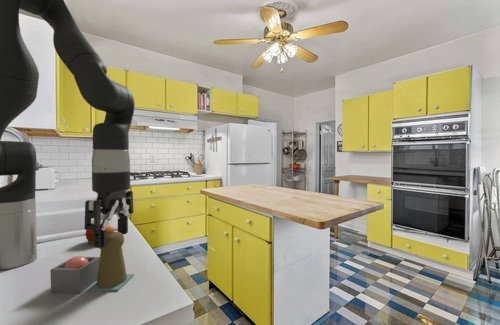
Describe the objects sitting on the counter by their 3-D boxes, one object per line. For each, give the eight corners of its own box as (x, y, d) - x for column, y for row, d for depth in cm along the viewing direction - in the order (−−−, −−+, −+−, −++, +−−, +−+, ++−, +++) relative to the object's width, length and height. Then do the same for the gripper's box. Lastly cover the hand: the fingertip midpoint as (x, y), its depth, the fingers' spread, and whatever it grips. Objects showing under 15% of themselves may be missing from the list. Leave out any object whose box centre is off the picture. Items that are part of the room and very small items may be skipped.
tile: (88, 290, 51) (88, 288, 51) (107, 275, 57) (107, 273, 57) (117, 291, 50) (117, 289, 50) (133, 275, 57) (133, 274, 57)
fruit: (74, 240, 77) (88, 217, 81) (97, 246, 83) (109, 224, 86) (85, 245, 73) (99, 220, 76) (108, 251, 78) (120, 227, 82)
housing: (51, 292, 50) (50, 269, 50) (74, 277, 56) (74, 256, 56) (80, 293, 50) (79, 269, 50) (100, 277, 56) (100, 256, 56)
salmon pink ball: (58, 285, 51) (57, 261, 51) (75, 274, 55) (74, 252, 55) (79, 285, 51) (78, 261, 50) (94, 275, 55) (93, 252, 55)
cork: (132, 275, 56) (131, 229, 56) (113, 289, 50) (112, 238, 50) (111, 273, 57) (110, 228, 57) (89, 286, 51) (88, 236, 51)
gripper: (108, 172, 46) (109, 253, 47) (142, 168, 60) (143, 230, 61) (70, 172, 46) (72, 252, 47) (114, 167, 61) (114, 229, 61)
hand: (112, 239), depth 54 cm, fingers open, 8 cm apart
